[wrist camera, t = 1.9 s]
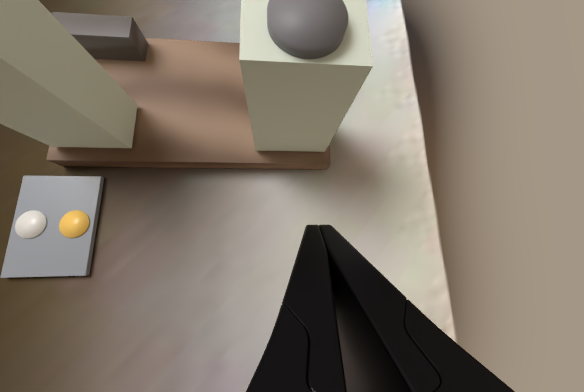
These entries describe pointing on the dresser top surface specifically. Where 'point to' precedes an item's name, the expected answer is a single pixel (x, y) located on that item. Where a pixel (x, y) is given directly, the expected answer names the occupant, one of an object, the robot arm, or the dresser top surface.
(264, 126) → the button
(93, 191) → the card
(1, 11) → the button
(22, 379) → the dresser top surface
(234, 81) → the wooden base plate
